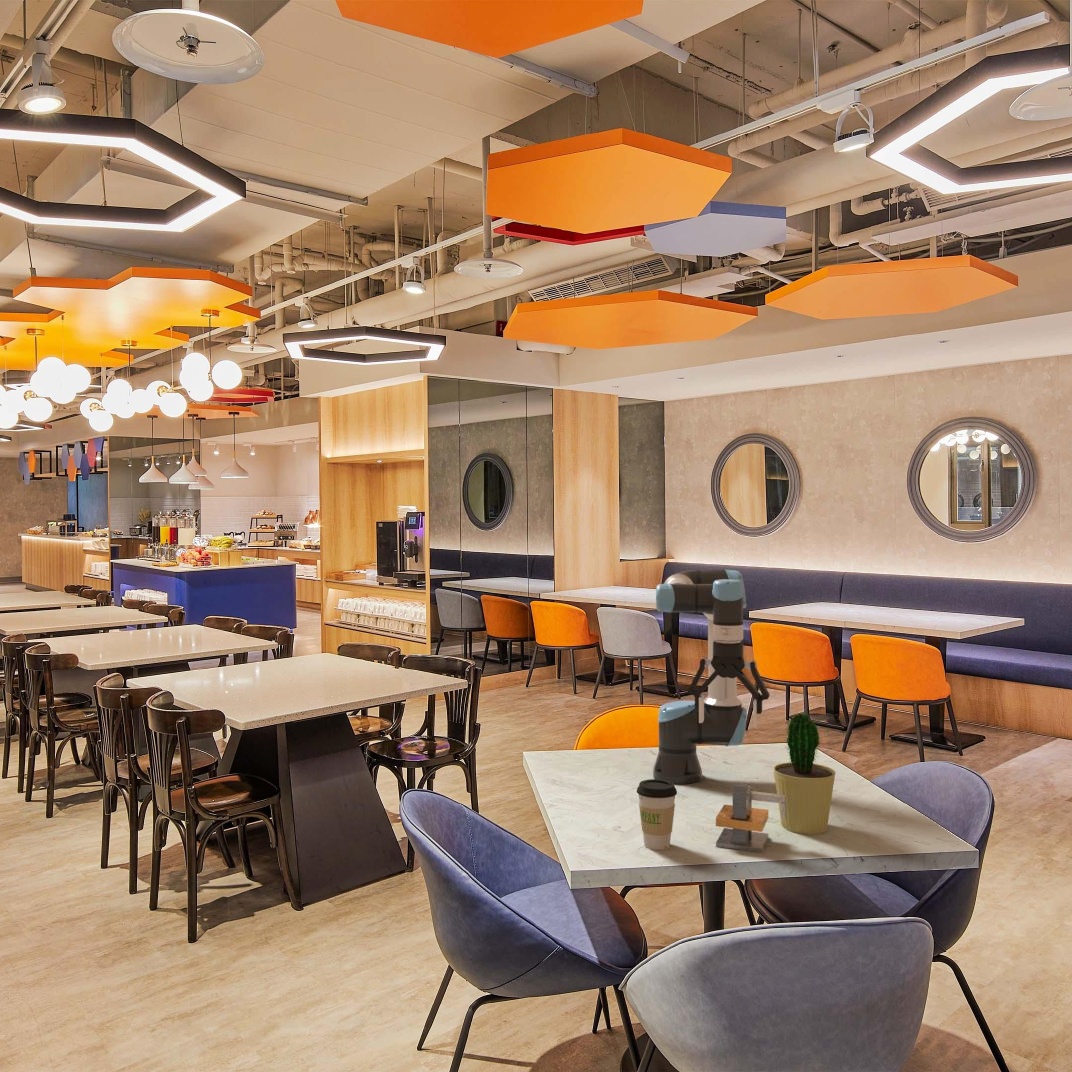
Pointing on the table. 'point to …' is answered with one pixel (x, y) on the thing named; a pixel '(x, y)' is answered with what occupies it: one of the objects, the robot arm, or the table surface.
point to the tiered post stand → (748, 822)
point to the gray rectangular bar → (740, 811)
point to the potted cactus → (804, 780)
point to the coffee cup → (656, 812)
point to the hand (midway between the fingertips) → (728, 724)
